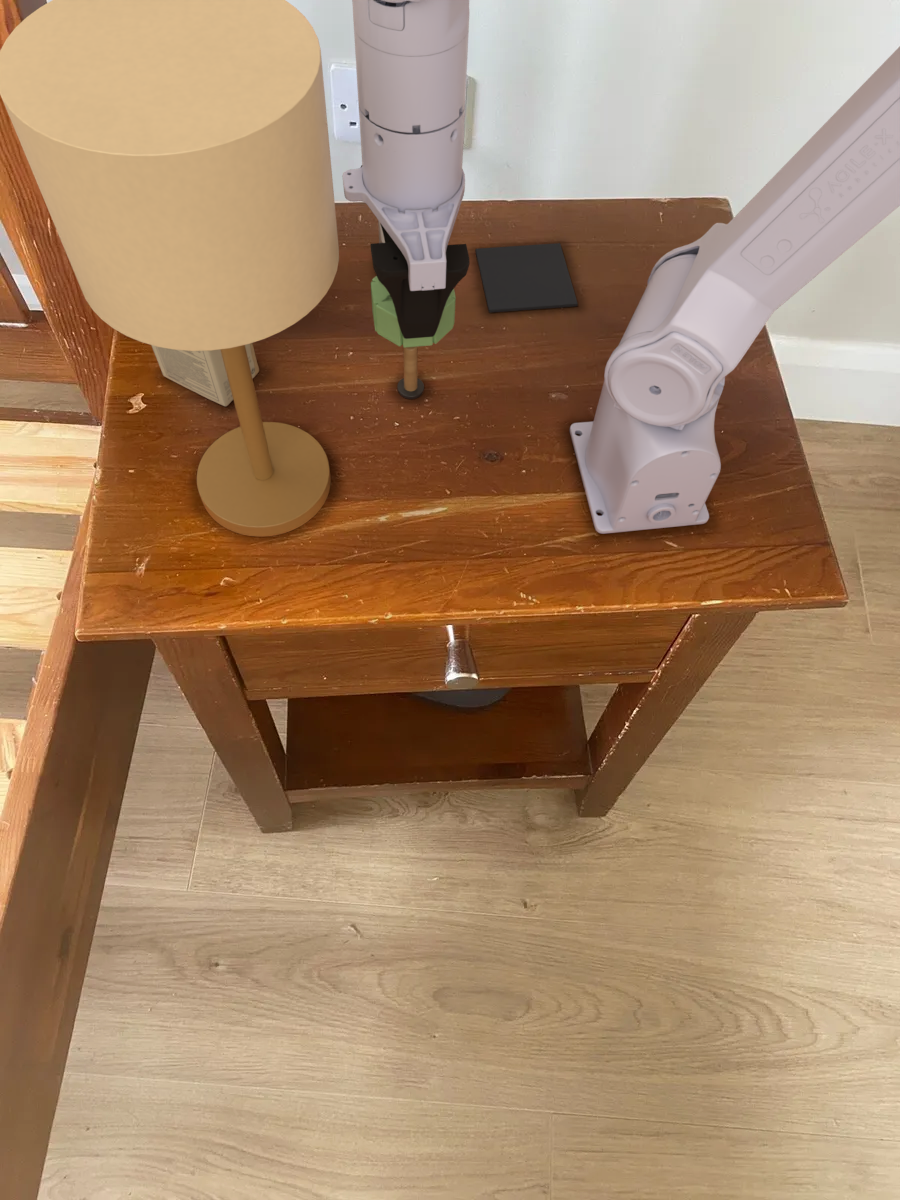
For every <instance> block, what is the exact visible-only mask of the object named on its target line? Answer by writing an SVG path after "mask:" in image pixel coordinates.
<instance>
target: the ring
mask: <svg viewBox="0 0 900 1200" xmlns="http://www.w3.org/2000/svg"><path fill="white" fill-rule="evenodd" d="M370 295H371V310H372V312H371V313H372V318H373V325H374V332H376V333H377V334H378V336H381V338H384V339H386V340H388V341H389V342H391V343H392V344H394V345H396V346H397V347H404V348H406V347H430V346H433V344H435V345H436V344H438V343H439V342H440V341H441V340H442V339H443V338H444V337H445V336H446V335H447V334H449V333H450V331H452V330H453V329H454V325H455V320H456V318H455V317H456V300H457V299H456V298H457V297H456V292H455V288H454V289H453V290H452V292H451V294H450V296H449V298H448V300H447V302H446V305H445V307H444V310H443V314H442V317H441V320H440V323H439V326H438V328H437V331H436V333H435V335H434V336H433V337H423V338H410V339H405V338H404V337H403V335H402V333H401V330H400V327H399V324H398V320H397V315H396V311H395V307H394V304H393V301H392V298H391V296H390V294H389V292H388V291H387V289H386V288H385V287H384V285H383V284H382V283H381V282H380V281H379V280H378V278H377V276H376V275H375V276H374V277H373V278H372V279H371V281H370Z"/></svg>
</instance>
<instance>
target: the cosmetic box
mask: <svg viewBox="0 0 900 1200" xmlns="http://www.w3.org/2000/svg"><path fill="white" fill-rule="evenodd" d="M151 348H152V351H153V353H154V356H155V358H156V360H157V364H158V366H159V368H160V370H161V374H162V376H163V377H165V378H166V379H168V380H170V381H172V382H174V383H176V384H178V385H179V386H182V387H184V388H186V389H188V390H189V391H192V392H194V393H196V394H198V395H199V396H202V397H204V398H206V399H208V400H209V401H211V402H214V403H216V404H219V405H221V406H223V407H228V406H229V405H230V404H231V403H232V402H233V401H234V400H233V396H232V392H231V388H230V384H229V381H228V377H227V373H226V369H225V365H224V362H223V358H222V354H221V350H220V349H219V350H210V351H186V350H174V349H168V348H162V347H157V346H153V345H151ZM245 348H246V352H247V356H248V361H249V365H250V370H251V374H252V378H253V379H254V378H255V377H256V376H257V375H258V373H260V367H259V364H258V361H257V356H256V352H255V347H254V342H253V343H250V344H247V345H245Z"/></svg>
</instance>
